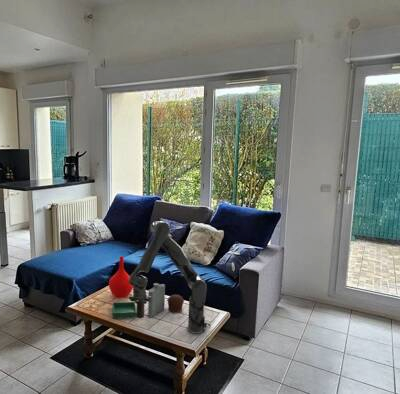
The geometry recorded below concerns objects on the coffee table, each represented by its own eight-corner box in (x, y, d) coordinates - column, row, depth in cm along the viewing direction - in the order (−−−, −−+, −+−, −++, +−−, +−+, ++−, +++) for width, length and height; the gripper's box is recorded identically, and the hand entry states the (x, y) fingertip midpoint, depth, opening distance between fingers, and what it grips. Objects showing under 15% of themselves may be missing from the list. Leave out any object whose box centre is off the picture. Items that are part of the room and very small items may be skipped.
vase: (123, 302, 243) (123, 262, 239) (103, 296, 253) (103, 257, 249) (138, 294, 258) (138, 256, 254) (119, 288, 268) (119, 251, 264)
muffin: (170, 314, 228) (170, 300, 226) (164, 307, 238) (164, 293, 237) (186, 312, 231) (187, 298, 230) (180, 304, 242) (180, 291, 240)
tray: (134, 306, 238) (134, 301, 237) (136, 317, 223) (136, 312, 222) (112, 307, 236) (112, 302, 235) (113, 318, 221) (113, 313, 220)
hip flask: (150, 317, 222) (151, 288, 220) (146, 315, 225) (146, 286, 222) (165, 309, 235) (166, 281, 232) (160, 307, 237) (161, 279, 235)
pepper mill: (143, 314, 219) (143, 296, 217) (144, 318, 214) (144, 299, 212) (136, 314, 218) (136, 296, 216) (136, 318, 213) (137, 299, 211)
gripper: (151, 286, 205) (152, 296, 219) (128, 285, 206) (129, 296, 219) (151, 298, 200) (151, 308, 214) (127, 297, 201) (129, 307, 215)
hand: (140, 302), depth 217 cm, fingers closed on pepper mill, 5 cm apart
